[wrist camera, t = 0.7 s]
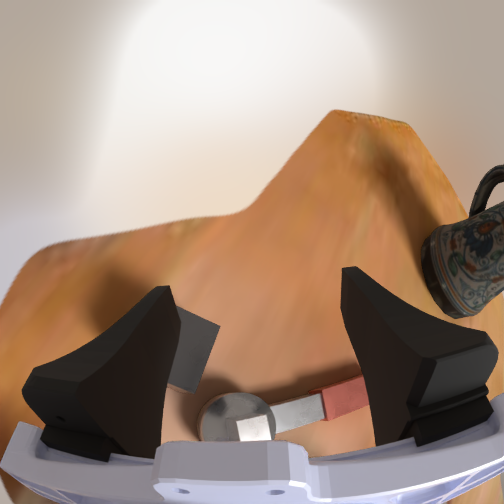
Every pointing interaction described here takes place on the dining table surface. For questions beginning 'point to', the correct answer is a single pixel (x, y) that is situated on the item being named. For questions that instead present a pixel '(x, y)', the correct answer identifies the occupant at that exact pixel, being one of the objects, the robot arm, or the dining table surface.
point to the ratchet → (276, 412)
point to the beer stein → (468, 255)
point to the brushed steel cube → (191, 351)
